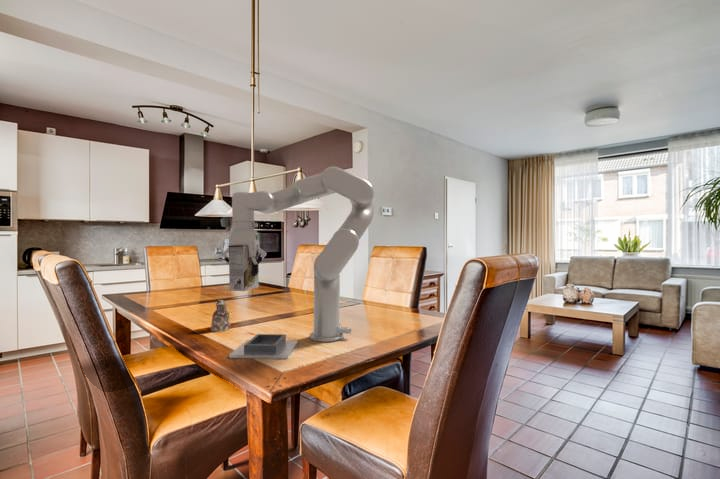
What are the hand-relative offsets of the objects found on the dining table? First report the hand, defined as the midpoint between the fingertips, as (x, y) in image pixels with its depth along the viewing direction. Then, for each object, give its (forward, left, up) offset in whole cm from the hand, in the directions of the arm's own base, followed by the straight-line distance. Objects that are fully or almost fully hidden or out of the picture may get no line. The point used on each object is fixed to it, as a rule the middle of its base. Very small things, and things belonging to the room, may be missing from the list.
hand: (244, 275), depth 129 cm
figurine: (+14, -14, -24) cm, 31 cm away
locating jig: (-12, +12, -23) cm, 29 cm away
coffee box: (0, 0, -5) cm, 5 cm away
